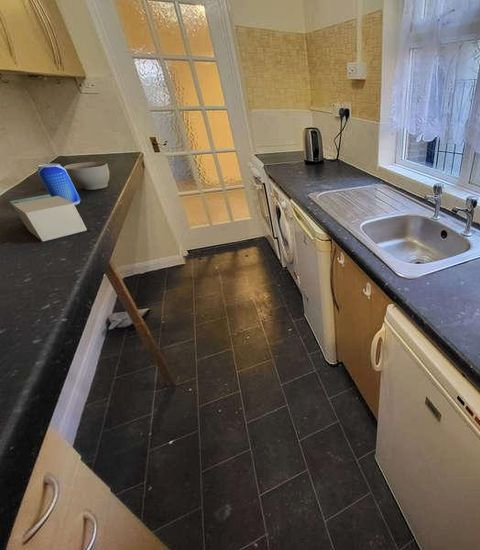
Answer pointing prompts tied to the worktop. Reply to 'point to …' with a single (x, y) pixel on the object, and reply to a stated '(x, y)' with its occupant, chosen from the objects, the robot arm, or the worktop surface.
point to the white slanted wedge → (50, 217)
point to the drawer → (27, 200)
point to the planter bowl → (89, 174)
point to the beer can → (58, 182)
